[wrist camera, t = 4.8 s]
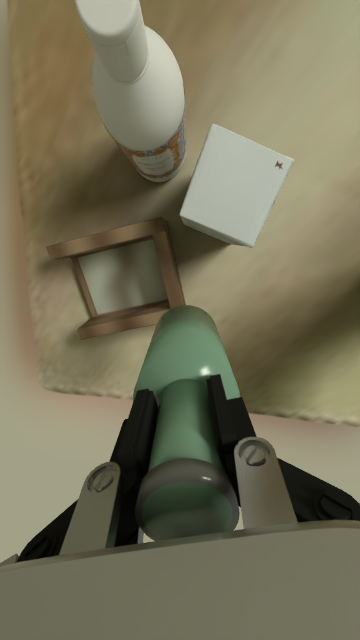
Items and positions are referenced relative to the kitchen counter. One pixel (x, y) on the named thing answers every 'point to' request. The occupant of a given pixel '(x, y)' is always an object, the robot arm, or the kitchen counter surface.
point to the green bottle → (185, 431)
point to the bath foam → (136, 87)
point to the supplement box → (233, 187)
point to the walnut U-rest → (124, 276)
